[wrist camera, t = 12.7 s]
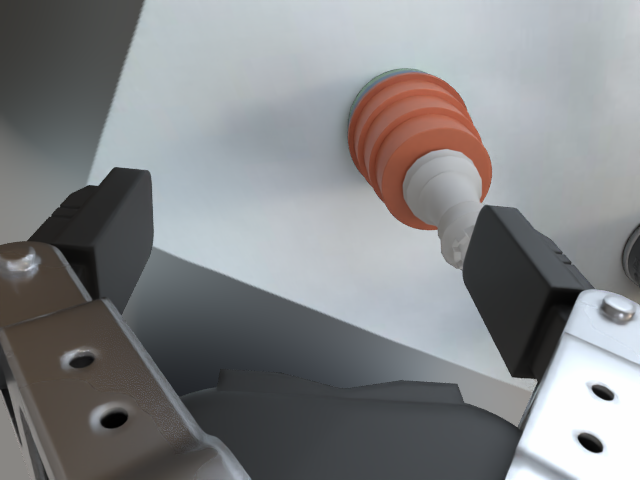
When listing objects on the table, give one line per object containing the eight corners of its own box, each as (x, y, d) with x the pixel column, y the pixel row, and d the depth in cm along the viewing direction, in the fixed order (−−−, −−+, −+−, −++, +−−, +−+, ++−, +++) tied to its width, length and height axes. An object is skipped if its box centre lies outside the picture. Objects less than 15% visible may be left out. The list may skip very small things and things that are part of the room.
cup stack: (432, 41, 37) (485, 76, 27) (472, 144, 41) (530, 208, 31) (324, 99, 39) (335, 153, 29) (373, 192, 43) (397, 268, 33)
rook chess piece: (430, 228, 31) (468, 307, 24) (385, 180, 30) (413, 251, 23) (490, 183, 30) (548, 253, 23) (447, 130, 28) (496, 188, 21)
